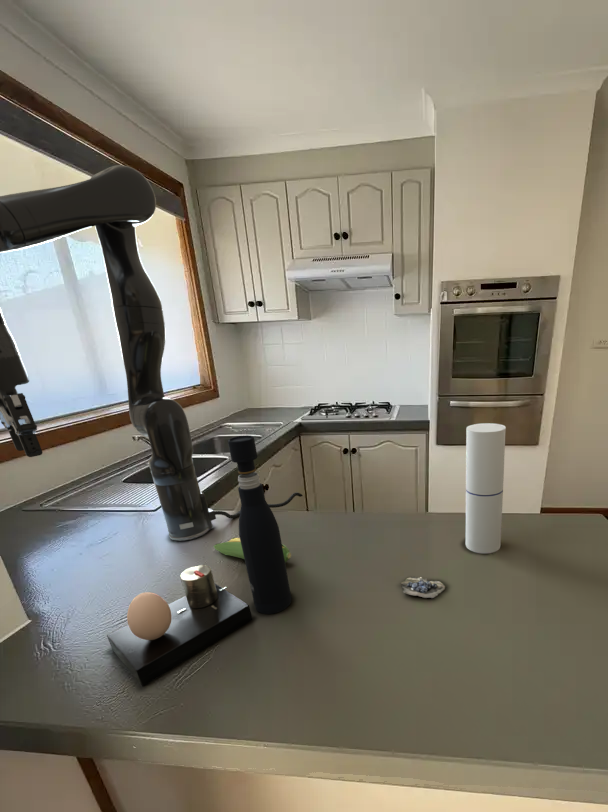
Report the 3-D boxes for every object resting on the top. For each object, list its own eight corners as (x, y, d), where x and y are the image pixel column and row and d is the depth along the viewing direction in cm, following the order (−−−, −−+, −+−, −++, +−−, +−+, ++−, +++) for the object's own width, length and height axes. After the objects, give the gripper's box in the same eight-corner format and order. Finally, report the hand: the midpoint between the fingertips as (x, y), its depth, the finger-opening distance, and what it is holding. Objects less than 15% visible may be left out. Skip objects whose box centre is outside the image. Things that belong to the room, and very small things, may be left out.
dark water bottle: (298, 594, 77) (270, 433, 65) (279, 616, 71) (245, 444, 60) (267, 590, 79) (235, 433, 68) (247, 611, 73) (209, 443, 62)
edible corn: (283, 573, 84) (279, 553, 82) (209, 557, 93) (205, 538, 91) (298, 560, 88) (295, 541, 87) (226, 546, 97) (222, 528, 95)
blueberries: (398, 580, 79) (397, 571, 78) (440, 575, 79) (440, 567, 78) (404, 602, 72) (403, 593, 72) (449, 596, 73) (449, 587, 72)
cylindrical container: (462, 551, 87) (462, 431, 77) (468, 535, 93) (470, 422, 83) (498, 555, 84) (503, 432, 75) (502, 539, 90) (507, 423, 81)
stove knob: (183, 602, 72) (174, 573, 70) (208, 588, 76) (200, 560, 73) (197, 611, 69) (188, 582, 67) (223, 597, 73) (215, 568, 70)
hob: (217, 593, 79) (213, 578, 78) (255, 618, 71) (251, 602, 70) (111, 648, 67) (105, 633, 66) (142, 687, 59) (135, 669, 58)
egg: (138, 630, 66) (123, 589, 63) (177, 619, 68) (165, 579, 65) (132, 654, 61) (116, 611, 58) (175, 642, 63) (161, 599, 60)
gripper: (28, 353, 66) (65, 452, 73) (10, 354, 75) (44, 442, 82) (-34, 358, 61) (11, 464, 67) (-46, 359, 70) (-5, 452, 77)
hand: (29, 452), depth 75 cm, fingers open, 8 cm apart
